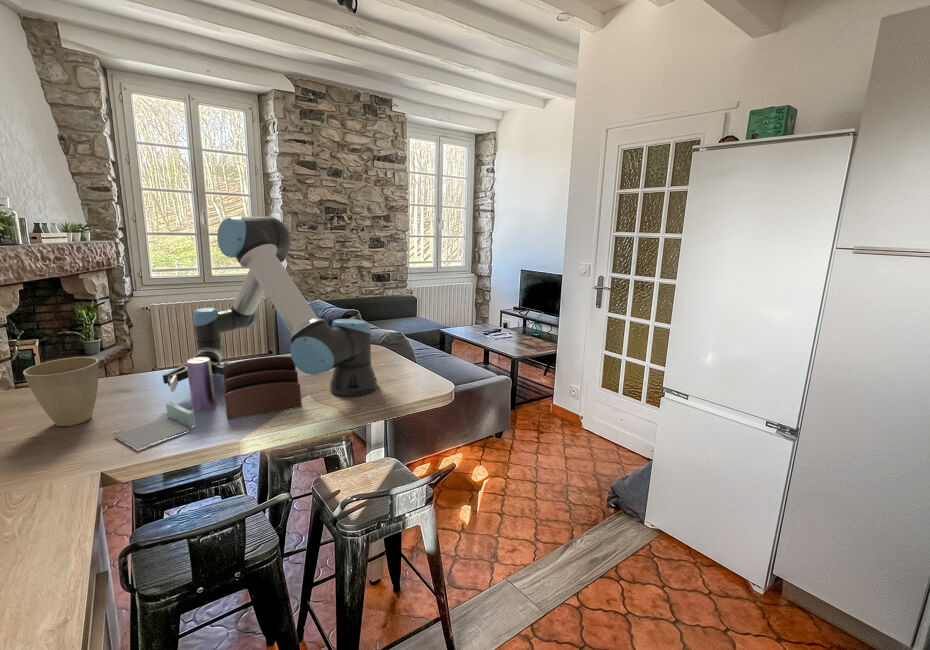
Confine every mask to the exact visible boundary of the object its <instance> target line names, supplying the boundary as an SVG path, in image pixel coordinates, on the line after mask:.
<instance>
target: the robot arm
mask: <svg viewBox="0 0 930 650" xmlns="http://www.w3.org/2000/svg"><path fill="white" fill-rule="evenodd" d="M288 229H289V228H288V227H287V225H286V224H284V222H283V221H281V220H280V219H278V218H276V217H273V216H267V215H266V216H241V215H237V216H230V217H229V216H228V217H226V218H224V219H223V220H222V221H221V222H220V224H219V225H218V230H217V245H218V248H219V250H220V251H221V253H222V254H223V255H224V256H225V257H228V258H231V259H233V258H235V259H236V260H237V262H238V263H239V265H240V266H241V268H245V269H249V270H248V272H247V273H246V276H245V278H244V280H243V282H242V285H241V287H240V289H239V291H238V293H237V295H236V297H235V299H234V301H233V303H232V304H231V305H232V306H231V307H230V309H226V310H220V311H218V309H217V308H216V307H215V308H214V307H203V308H202V307H200V308H197V309H195V310H194V311H193V313H192V321H193V322H192V323H193V329H194V333H195V340H196V341H195V344H196V351H197V352H196V355H195V357H194V358H197V357H208V358H210V361H211V367H212V375H213V376H214V375H221V376H224V374H223V367H224V366H225V365H226V364H230V363H231V362H230V360H228V359H227V360H225V361H224V362H223V363H221V362H222V357H223V354H224V347H223V344H222V338H221V337H222V334H223V333H228V332H231V331H236V330H240V329H245V328H249V327H250V326H254V325H255V324H256V323H257V321H258V312H257V310H256V309H257V308H258V305H260V303H261V299H262V298H263V296H264V294H265V295H266V297H267V298H268V299H269V301H270V303H272V306H273V307H274V308H275V310H276V311H277V314H279V316H280V317H281V318H280V319H282V320H283V322H284V324H285V326H286V327H287V328H288V330H289V331H290V338H289V342H290V343H291V345H290V349H289V353H290V357H291V358H292V360H293V362H294V364H295V367H296V368H297V369H298V370H299V371H301V372H302V373H305V374H307V375H312V376H316V375H319V374H323V373H327V372H330V371H331V370H332V369H333V371H332V375H331V376H332V378H331V380H330V383H329V388H330V389H329V390H330V393H332V394H333V395H336V396H341V397H358V396H364V395H368V394H370V393H373V392H374V391H376V389H377V388H378V379H377V376H376V375H375V372H374V371H375V370H374V369H373V366H372V353H371V347H372V346H371V345H372V344H371V335H372V332H371V327H370V324H369V322H367V321H365V320H364V319H363V320H362V319H356V318H355V319H353V318H343V319H342V318H339V319H334V320H332V324H331V327H330V325H329V324H328V322H327V320H326V319H325V318H324V319H323V318H319V317H317V315H316V314H315V312H314V310H313V309H312V308H311V306H310V304H309V303H308V301H307V300H306V299H305V296H303V294H302V292H301V291H300V289H299V288H298V286H297V285H296V284H295V281H294V280H293V279H292V277H291V276H290V274H289V273H288V271H287V270H286V268H285V267H284V265H283V264H282V263H283V262H285V260H286V258H287V256H288V254H289V252H290V250H291V249H290V248H291V241H292V240H291V239H292V237H291V233H290V232H289V230H288ZM162 379H163V380H162V381H163V384H166V385H167V386H168V387H169V388H170V393H173V392H175V390H176V389H177V387H178V385H179V384H178V383H179V382H181V381H183V380H186V379H189V378H188V371H187V365H185V364H181V365H179V366H178V367H176V368H174V369H172V370H170V371H168V372H166V373H165V374H162Z"/></svg>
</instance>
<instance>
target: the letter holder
mask: <svg viewBox="0 0 930 650" xmlns="http://www.w3.org/2000/svg"><path fill="white" fill-rule="evenodd" d="M223 374H224V375H223V381H224V382H223V387H224V401H225V402H224V403H225V412H226V419H227V420H232V419H237V417H238V418H243V417H244V416H245V417H250V415H251V416H257V415H262V413H263V414H268V413H267V412H269V413H274V412H273V411H275V412H280V411H279V410H281V411H286V410H285V409H287V410H291V409H290V408H293V409H296V408H295V407H300V408H302V407H303V406H302V405H303V404H302V403H303V402H302V394H301V392H302V391H301V385H300V384H301V383H299V378H298V371H297V366H296V365H295V364H294V362H293V360H292V358H291V356H269V357H268V356H267V357H257V358H250V359H245V360H240V361H239V360H238V361H235V362H230V364H226V365H225V366H224V367H223ZM301 406H302V407H301ZM256 414H257V415H256ZM245 417H244V418H245Z"/></svg>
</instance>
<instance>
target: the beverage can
mask: <svg viewBox="0 0 930 650" xmlns="http://www.w3.org/2000/svg"><path fill="white" fill-rule="evenodd" d="M186 367H187V371H188V378H187V379H188V383H189V384H188V385H189V392H190V399H191V407H192V410H193V412H194V413H195V412H196V413H207V412H209V411H212V410H214V409H215V408H216V406H217V402H216V393H215V384H214V374H212V367H211V361H210V358H208V357H197V358H195V357H193V358H190V359H188V360H187V361H186Z"/></svg>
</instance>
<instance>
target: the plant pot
mask: <svg viewBox="0 0 930 650" xmlns="http://www.w3.org/2000/svg"><path fill="white" fill-rule="evenodd" d="M22 374H23V376H24V379H25V381H26V382H27V385H28V386H29V389H30V391H31V392H32V394H33V396H34V397H35V399H36V401H37V402H38V404H39V405H40V406H41V408H42V409H43V412H45V413H46V415H47V416H48V417H49V419H51V421H52V422H53V423H54V425H56V427H60V426H68V427H72V426H71V425H73V426H76V424H78V425H80V424H79V423H81V424H83V423H82V422H84V423H86V422H88V421H90V420H91V419H92V417H93V413H94V409H95V405H96V400H97V394H98V387H99V360H98V358H96V357H92V356H91V357H90V356H78V357H77V356H76V357H68V358H61V359H60V358H59V359H54V360H49V361H45V362H42V363H38V364H35V365H32V366H29V367H28V368H26V369H24V370H23V372H22ZM90 418H91V419H90ZM89 419H90V420H89ZM87 420H88V421H87ZM85 421H86V422H85Z"/></svg>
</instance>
